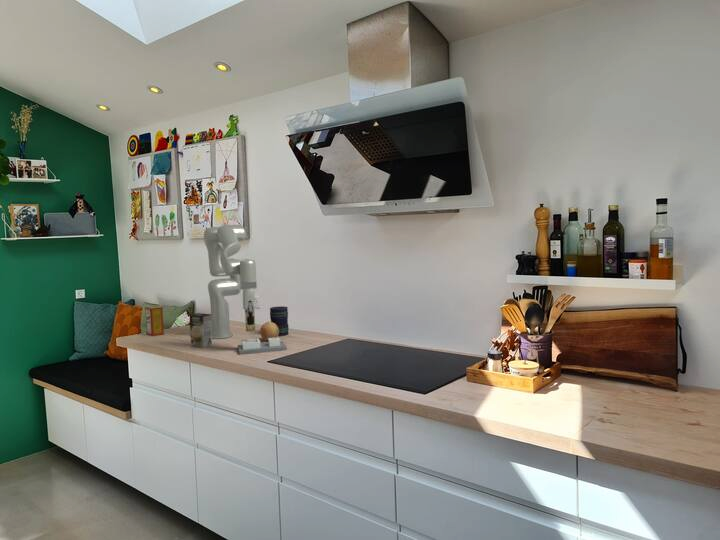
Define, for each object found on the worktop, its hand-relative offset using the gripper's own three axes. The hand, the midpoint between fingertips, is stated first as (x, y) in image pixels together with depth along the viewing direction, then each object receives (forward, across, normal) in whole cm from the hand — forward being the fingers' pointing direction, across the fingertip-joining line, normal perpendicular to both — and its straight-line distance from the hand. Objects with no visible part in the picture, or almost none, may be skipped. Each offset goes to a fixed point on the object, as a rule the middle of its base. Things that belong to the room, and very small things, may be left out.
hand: (250, 323), depth 242 cm
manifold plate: (+13, 0, +5) cm, 14 cm away
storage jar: (+13, -32, +18) cm, 39 cm away
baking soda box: (+12, -64, -49) cm, 82 cm away
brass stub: (+3, 0, 0) cm, 3 cm away
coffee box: (+13, -20, -23) cm, 33 cm away
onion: (+13, -18, +11) cm, 25 cm away
